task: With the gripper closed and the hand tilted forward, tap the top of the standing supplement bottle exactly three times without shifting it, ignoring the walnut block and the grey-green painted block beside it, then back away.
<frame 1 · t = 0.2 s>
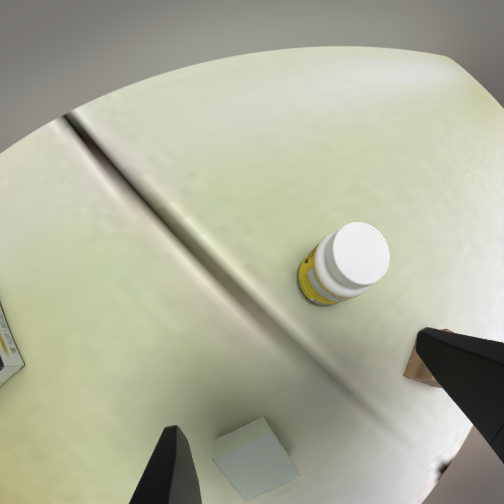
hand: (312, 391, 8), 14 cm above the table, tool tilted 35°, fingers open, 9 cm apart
walnut block: (426, 360, 23), on the table
painted block: (252, 447, 20), on the table
supplement bottle: (320, 280, 24), on the table
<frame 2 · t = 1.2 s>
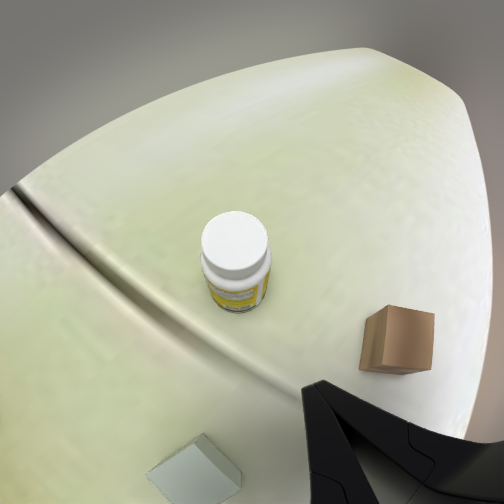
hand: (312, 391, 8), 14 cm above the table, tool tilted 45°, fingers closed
walnut block: (384, 347, 22), on the table
painted block: (201, 467, 17), on the table
supplement bottle: (238, 287, 24), on the table
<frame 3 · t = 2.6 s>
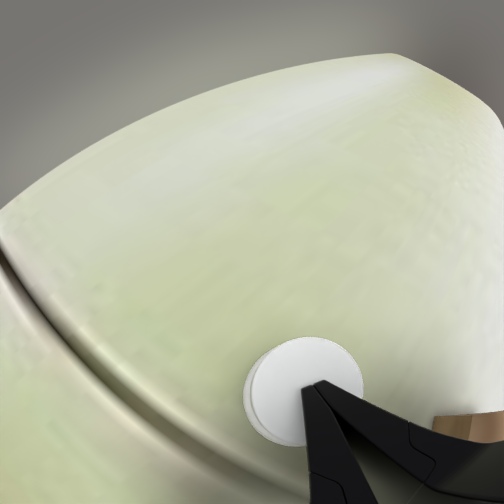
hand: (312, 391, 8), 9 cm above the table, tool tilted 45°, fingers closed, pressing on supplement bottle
walnut block: (449, 442, 13), on the table
supplement bottle: (284, 398, 16), on the table, touching gripper
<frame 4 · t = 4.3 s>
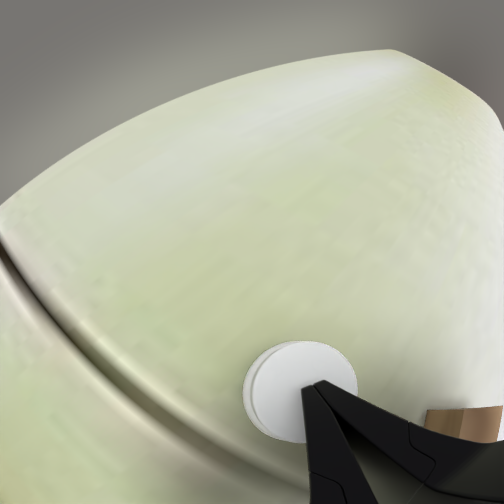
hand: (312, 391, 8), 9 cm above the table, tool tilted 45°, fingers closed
walnut block: (442, 436, 14), on the table
supplement bottle: (280, 390, 17), on the table
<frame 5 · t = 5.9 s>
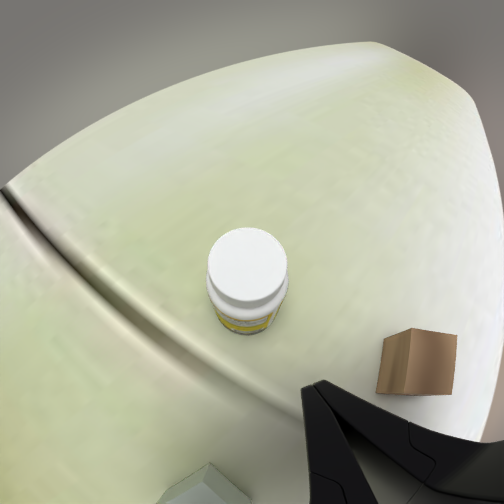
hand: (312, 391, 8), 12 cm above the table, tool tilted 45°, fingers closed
walnut block: (402, 368, 20), on the table
painted block: (208, 496, 15), on the table
supplement bottle: (246, 306, 22), on the table
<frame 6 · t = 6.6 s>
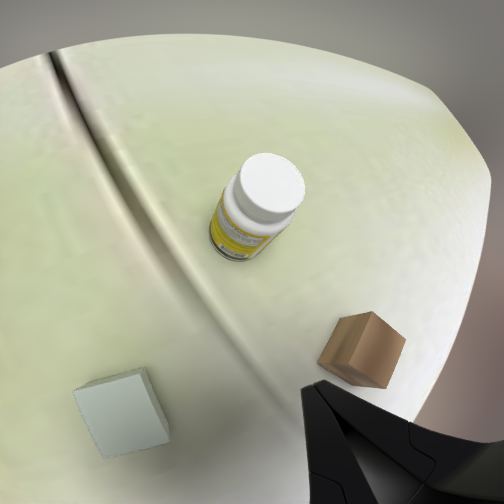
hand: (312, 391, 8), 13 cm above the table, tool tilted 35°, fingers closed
walnut block: (346, 352, 23), on the table
painted block: (128, 403, 17), on the table
supplement bottle: (236, 234, 24), on the table
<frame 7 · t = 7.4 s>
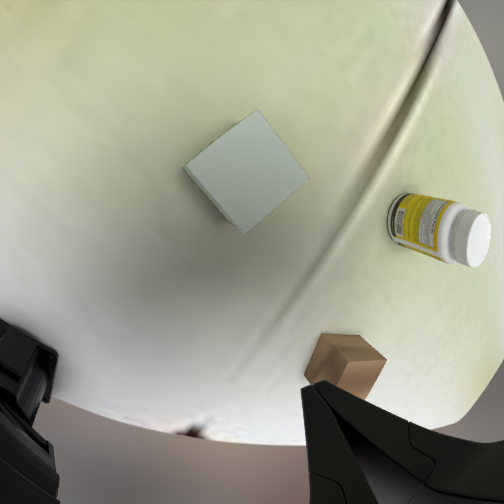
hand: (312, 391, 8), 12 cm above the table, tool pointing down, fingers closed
walnut block: (331, 354, 25), on the table
painted block: (231, 171, 18), on the table
supplement bottle: (402, 218, 23), on the table
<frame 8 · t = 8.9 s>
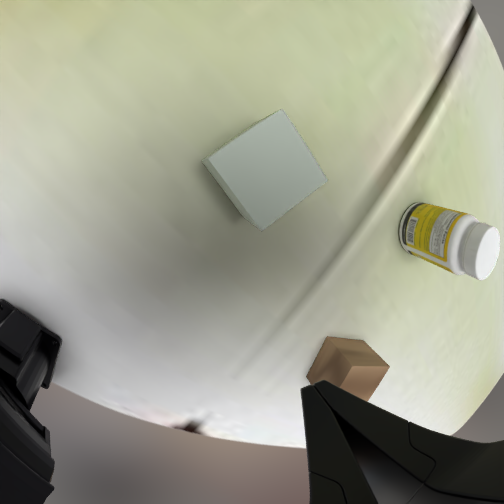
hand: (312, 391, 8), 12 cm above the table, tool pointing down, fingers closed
walnut block: (335, 358, 25), on the table
painted block: (250, 168, 18), on the table
supplement bottle: (414, 227, 23), on the table
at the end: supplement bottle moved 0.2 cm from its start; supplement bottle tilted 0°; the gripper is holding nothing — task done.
